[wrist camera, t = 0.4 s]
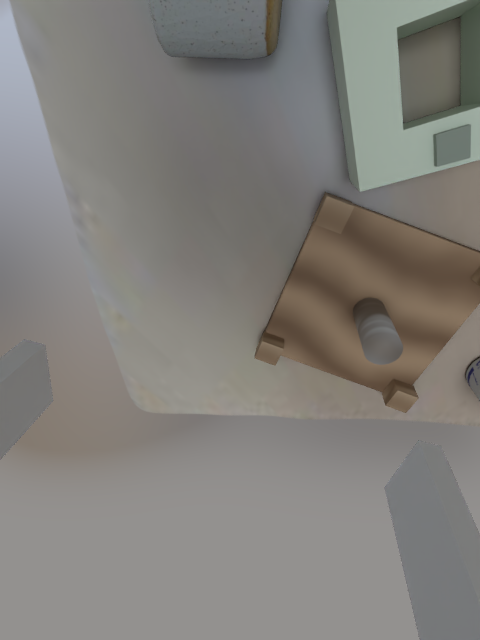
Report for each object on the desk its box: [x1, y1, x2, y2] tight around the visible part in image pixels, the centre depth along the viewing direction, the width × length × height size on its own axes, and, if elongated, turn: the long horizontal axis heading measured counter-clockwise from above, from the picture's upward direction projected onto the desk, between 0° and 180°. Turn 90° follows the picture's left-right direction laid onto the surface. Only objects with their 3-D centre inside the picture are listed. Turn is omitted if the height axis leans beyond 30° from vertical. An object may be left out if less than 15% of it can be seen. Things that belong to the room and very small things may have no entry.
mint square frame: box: [327, 0, 480, 192], centre depth 23 cm, size 12×12×7 cm
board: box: [255, 192, 480, 413], centre depth 32 cm, size 18×18×8 cm
